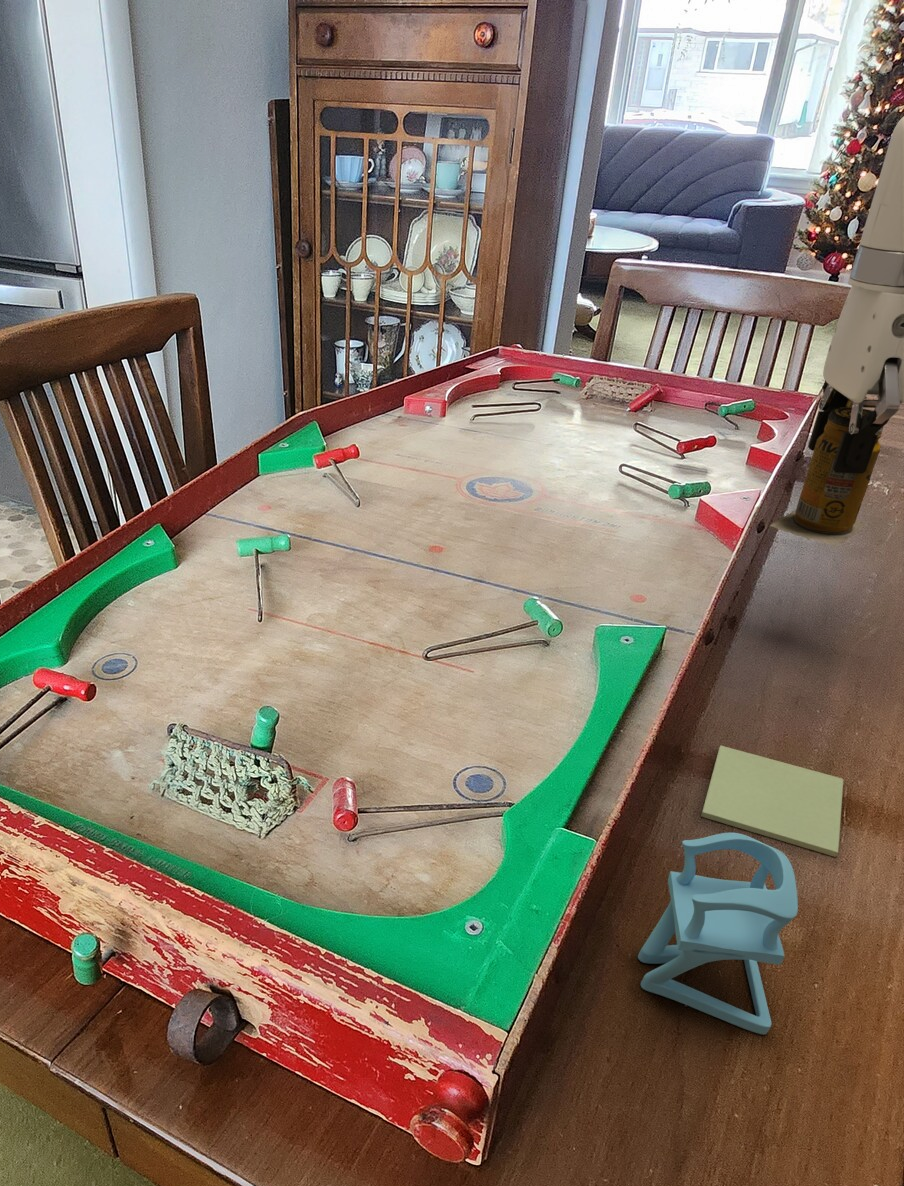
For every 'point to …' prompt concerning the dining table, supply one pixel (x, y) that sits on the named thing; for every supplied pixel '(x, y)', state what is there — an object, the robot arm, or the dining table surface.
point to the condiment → (830, 489)
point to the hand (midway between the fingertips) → (835, 459)
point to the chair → (722, 927)
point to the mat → (775, 800)
